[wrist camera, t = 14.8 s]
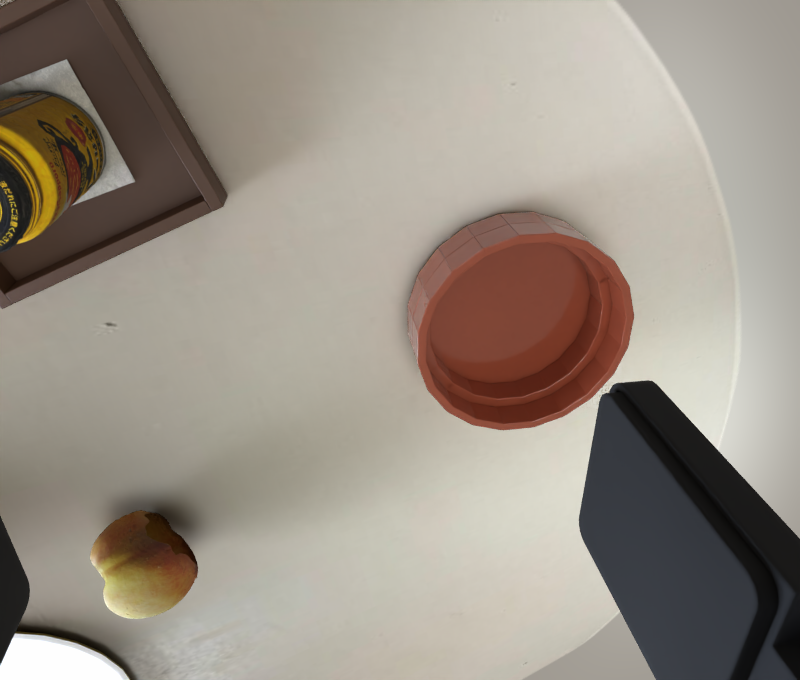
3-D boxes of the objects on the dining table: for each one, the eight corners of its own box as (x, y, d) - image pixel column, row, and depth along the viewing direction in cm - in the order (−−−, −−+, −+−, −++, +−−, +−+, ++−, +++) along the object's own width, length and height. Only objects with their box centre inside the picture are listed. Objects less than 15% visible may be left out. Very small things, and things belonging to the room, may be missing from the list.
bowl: (406, 216, 42) (418, 240, 38) (617, 204, 44) (651, 227, 40) (407, 400, 50) (417, 438, 45) (588, 384, 51) (614, 419, 47)
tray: (97, -32, 33) (82, -35, 31) (227, 195, 40) (223, 206, 38) (-150, 92, 34) (-180, 98, 32) (17, 292, 41) (1, 309, 39)
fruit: (122, 478, 49) (92, 556, 42) (221, 508, 52) (209, 586, 45) (91, 542, 52) (58, 625, 45) (187, 567, 55) (170, 649, 48)
